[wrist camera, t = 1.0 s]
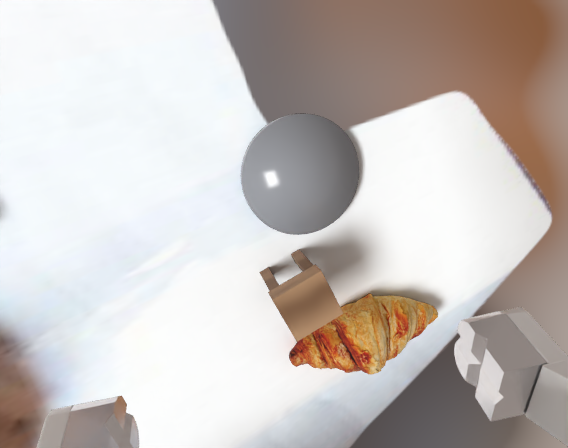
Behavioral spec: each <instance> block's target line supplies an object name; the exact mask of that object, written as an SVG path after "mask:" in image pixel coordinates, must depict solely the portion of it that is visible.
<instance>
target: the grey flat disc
mask: <svg viewBox="0 0 568 448" xmlns="http://www.w3.org/2000/svg"><path fill="white" fill-rule="evenodd" d="M358 179H359V163H358V158H357V153H356V151H355V148H354V146H353V144H352V142H351V140H350V138H349V137H348V136H347V134H346V133H345V132H344V131H343V130H342V129H341V128H340V127H339V126H338V125H336V124H335V123H333V122H332V121H330V120H328V119H326V118H324V117H321V116H318V115H313V114H304V113H300V114H291V115H286V116H283V117H280V118H278V119H276V120H274V121H272V122H270V123H269V124H267V125H266V126H265V127H264V128H262V129H261V130H260V131H259V132H258V133H257V134H256V136H255V137H254V138H253V140H252V141H251V143H250V144H249V146H248V148H247V150H246V153H245V155H244V158H243V162H242V168H241V184H242V190H243V193H244V196H245V199H246V201H247V203H248V205H249V206H250V208H251V209H252V211H253V212H254V213H255V215H256V216H257V217H258V218H259V219H260V220H261V221H262V222H263V223H265V224H266V225H268V226H269V227H271V228H273V229H275V230H277V231H280V232H283V233H287V234H298V235H299V234H308V233H313V232H316V231H319V230H321V229H323V228H325V227H327V226H329V225H330V224H332V223H333V222H334V221H336V220H337V219H338V218H339V217H340V216H341V215H342V214H343V213H344V212H345V210H346V209H347V207H348V206H349V204H350V203H351V201H352V199H353V197H354V194H355V192H356V188H357V185H358Z"/></svg>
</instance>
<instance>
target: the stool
mask: <svg viewBox="0 0 568 448" xmlns="http://www.w3.org/2000/svg"><path fill="white" fill-rule="evenodd" d="M291 255H292V257H293V259H294V261H295V263H296V264H297V265H298V266H299V268H300V269H301V270H302V271H303V272H301V273H300V274H298V275H296V276H295V277H293V278H291V279H290V280H288V281H286V282H284V283H283V284H281V285H279V284H278V283H277V281H276V279H275V278H274V276H273V274H272V273H271V271H270V269H269V268H266V269H265V270H263V271H261V272H260V274H261V276H262V278H263V279H264V281H265V283H266V285H267V287H268V289H269V290H270V291H269V292H268V293H269V295H270V296H271V298H272V300H273V302H274V304H275V305H276V307H277V309H278V310H279V312H280V314H281V315H282V317H283V319H284V321H285V322H286V324H287V326H288V327H289V329H290V331H291V332H292V334H293V336H294V338H295V339H296V341H297V342H298V341H299V340H301V339H302V338H304V337H306V336H307V335H309V334H311V333H312V332H314V331H316V330H317V329H319V328H321V327H322V326H324V325H326V324H327V323H329V322H330V321H332V320H334V319H335V318H337V317H339V316H340V315H342V314H344V313H343V311H342V310H341V308H340V306H339V304H338V302H337V300H336V298H335V296H334V294H333V292H332V290H331V288H330V286H329V285H328V283H327V281H326V279H325V277H324V275H323V273H322V271H321V270H320V269H319V268H318V267H317V265H316V264H315V265H313V264H312V263H311V262H310V261H309V260H308V259H307V257H306V256H305V255H304V254H303V253H302V252H301V251H300V250H297V251H295V252H294V253H292V254H291Z"/></svg>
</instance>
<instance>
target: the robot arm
mask: <svg viewBox="0 0 568 448" xmlns="http://www.w3.org/2000/svg"><path fill="white" fill-rule="evenodd" d="M457 331H458V333H459V334H460V336H461V337H460V339H459V340H458V341H457V342H456V343H455V349H454V354H455V359H456V364H457V366H458V369H459V371H460V373H461V375H462V376H463V378H464V380H465V381H466V382H468V383H470V384H472V385H473V386H475V387H476V395H475V397H476V399H477V400H478V402H479V404H480V405H481V407H482V409H483V410H484V412H485V413H486V415H487V416H488V418H489V420H490V421H495V420H500V419H505V418H510V417H514V416H519V415H524V414H526V415H525V417H527V418H528V419H530V420H531V421H532V422H534V423H535V424H537V425H538V426H539V427H541V428H542V429H544V430H545V431H546V432H548V433H549V434H551V435H552V436H554V437H555V438H556V439H558V440H559V441H560V442H562V443H563V444H565V445H566V446H568V355H567V354H565V352H564V351H563V350H562V349H561V348H560V347H559V346H558V344H556V342H555V341H554V340H553V339H552V338H551V337H550V336H549V335H548V334H547V332H546V331H545V330H544V329H543V328H542V327H541V326H540V325H539V324H538V323H537V321H536V320H535V319H534V318H533V317H532V316H531V315H530V314H529V313H528V312H527V311H526V310H525V309H523V308H522V307H518V308H513V309H509V310H504V311H500V312H493V313H489V314H485V315H481V316H476V317H472V318H468V319H464V320H461V321H460V322H459V324H458V329H457ZM126 406H127V404H126V402H125V400H124V399H123V397H122V396H118V397H113V398H108V399H103V400H97V401H92V402H87V403H82V404H77V405H72V406H67V407H62V408H58V409H53V410H51V411H50V413H49V414H48V415H47V417H46V419H45V422H44V426H43V429H42V432H41V436H40V439H39V442H38V446H37V448H139V434H138V428H137V424H136V421H135V419H134V417H133V416H132V415H130V414H128V413H126Z"/></svg>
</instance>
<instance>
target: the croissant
mask: <svg viewBox="0 0 568 448" xmlns="http://www.w3.org/2000/svg"><path fill="white" fill-rule="evenodd" d="M341 310H342V311H343V313H344V314H342V315H340V316H339V317H337V318H335V319H334V320H332V321H330V322H329V323H327V324H326V325H324V326H322V327H321V328H319V329H317V330H316V331H314V332H312V333H311V334H309V335H307V336H306V337H304V338H302V339H301V340H299V341H298V342H297V343H296V345H295V346H294V348H293V349H292V350H291V351H290V354H289V358H290V361H291V363H292V364H293V365H294V366H296V367H297V366H299V365H303V364H307V363H308V364H309V365H311V366H312V367H314V368H320V369H321V368H330V369H332V368H338V369H340V370H343V371H345V372H346V373H350V372H353V371H360V370H362V371H363V372H365V373H368V374H374V373H378V372H379V371H381V368H383V367H384V366H385V363H386V361H387V360H390V359H392V358H395V357H396V356H397V354H399V353H401V351H402V350H403V349H404V347H405V346H406V344H407V342H408V341H409V340H411V339H413V338H414V337H416V336H418V335H420V334H421V333H422V332H423V331H424V330H425V328H426V327H427V325H428V324H430V323H432V322H433V321H434V320H435V319H436V318H437V317H438V312H437V310H436V309H435V308H434V307H433V306H431V305H429V304H427V303H423V302H419V301H415V300H413V299H410V298H404V297H402V296H392V295H389V296H374V297H373V296H372V294H368V295H367V296H365V297H363V298H361V299H360V300H358V301H357V302H356V303H350V304H347V305H345V306H343V307H341Z"/></svg>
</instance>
